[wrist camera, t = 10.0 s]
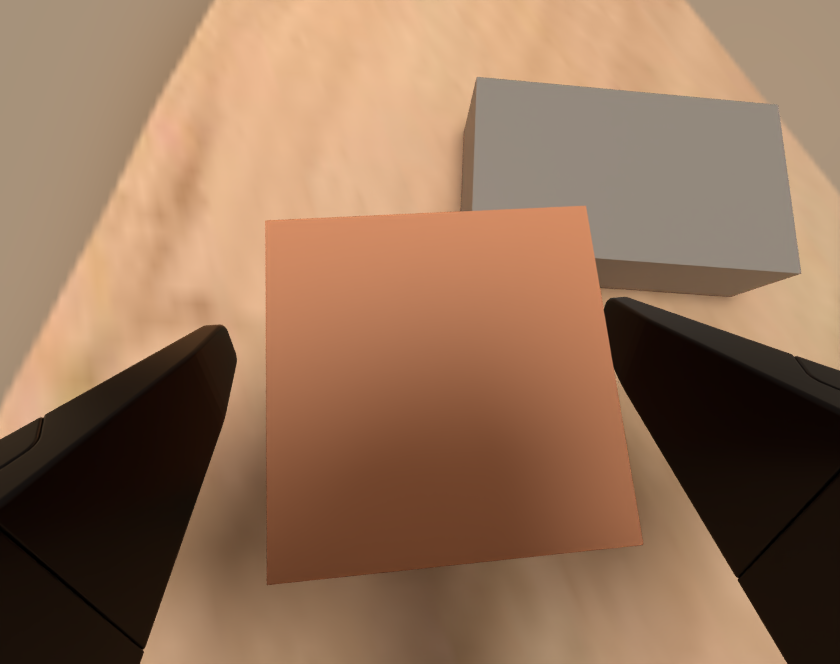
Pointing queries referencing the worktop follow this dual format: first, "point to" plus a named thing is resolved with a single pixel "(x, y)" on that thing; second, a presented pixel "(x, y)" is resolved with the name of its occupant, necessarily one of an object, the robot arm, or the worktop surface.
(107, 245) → the worktop surface
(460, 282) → the terracotta block
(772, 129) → the slate block
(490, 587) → the worktop surface
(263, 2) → the worktop surface
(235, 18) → the worktop surface
